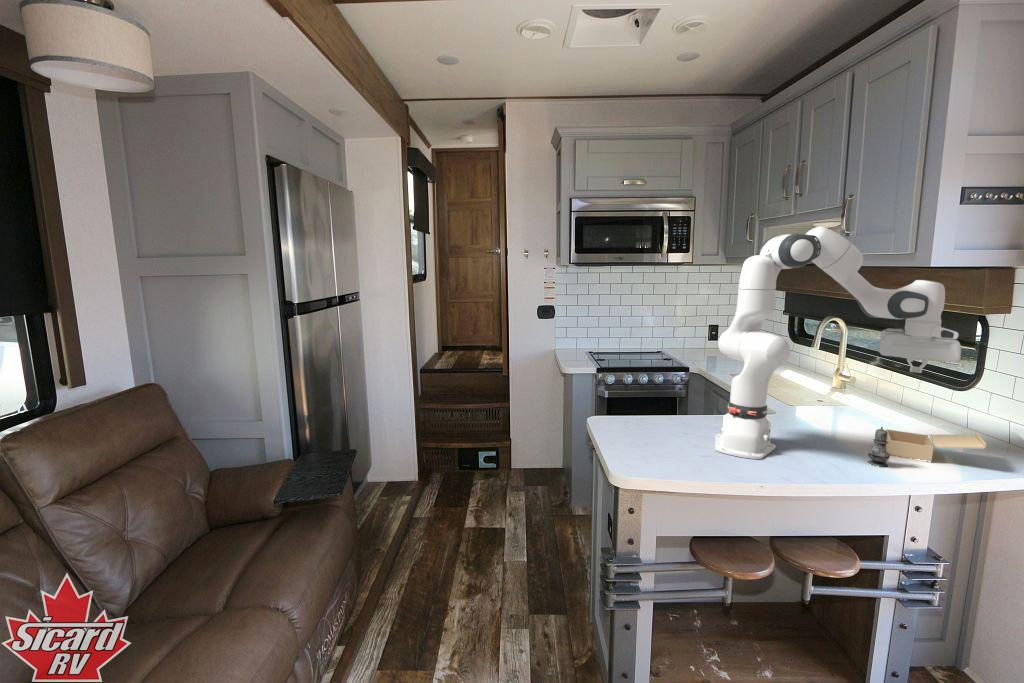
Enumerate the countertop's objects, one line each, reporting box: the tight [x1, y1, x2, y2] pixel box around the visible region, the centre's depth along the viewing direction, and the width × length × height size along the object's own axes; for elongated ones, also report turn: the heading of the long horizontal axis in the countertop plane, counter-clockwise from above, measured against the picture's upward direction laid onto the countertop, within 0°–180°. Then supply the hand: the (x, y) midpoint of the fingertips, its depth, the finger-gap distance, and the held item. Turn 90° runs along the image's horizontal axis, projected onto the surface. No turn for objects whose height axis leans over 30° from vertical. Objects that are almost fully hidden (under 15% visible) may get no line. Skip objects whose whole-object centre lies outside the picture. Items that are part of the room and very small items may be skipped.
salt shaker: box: [866, 426, 892, 468], centre depth 148 cm, size 6×6×12 cm
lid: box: [928, 432, 987, 450], centre depth 152 cm, size 14×12×1 cm
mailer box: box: [885, 428, 934, 461], centre depth 159 cm, size 14×11×5 cm
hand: (915, 372), depth 158 cm, fingers closed
